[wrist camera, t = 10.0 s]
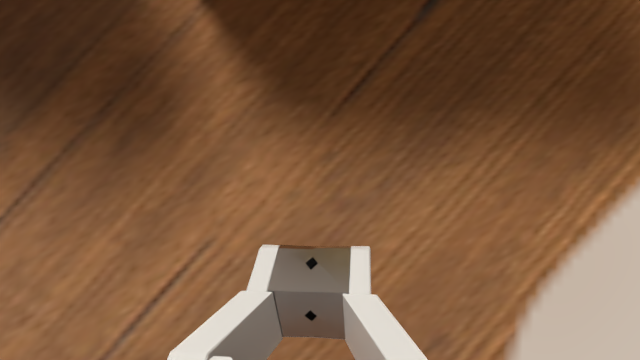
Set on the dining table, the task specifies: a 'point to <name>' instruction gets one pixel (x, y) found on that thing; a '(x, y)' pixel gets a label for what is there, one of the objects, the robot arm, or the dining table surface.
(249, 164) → the dining table surface
